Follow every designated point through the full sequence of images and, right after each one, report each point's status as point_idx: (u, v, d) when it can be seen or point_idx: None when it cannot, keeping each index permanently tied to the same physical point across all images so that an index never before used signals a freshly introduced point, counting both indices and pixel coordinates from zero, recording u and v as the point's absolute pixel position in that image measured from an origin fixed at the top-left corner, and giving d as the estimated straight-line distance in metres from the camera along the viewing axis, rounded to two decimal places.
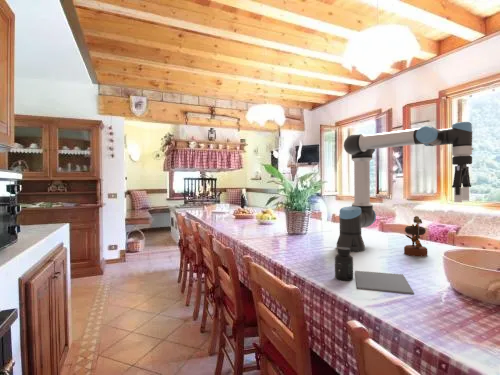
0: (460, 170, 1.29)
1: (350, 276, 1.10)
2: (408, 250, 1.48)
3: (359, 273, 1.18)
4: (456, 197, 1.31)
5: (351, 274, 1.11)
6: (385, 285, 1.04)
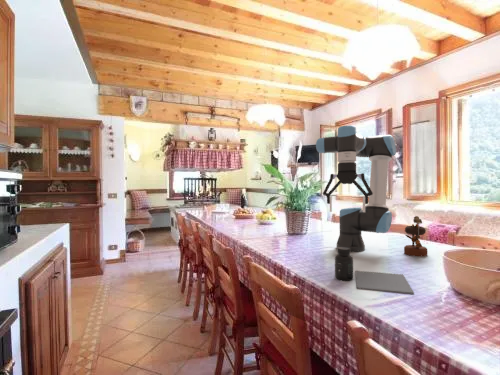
0: (330, 178, 1.25)
1: (350, 276, 1.10)
2: (408, 250, 1.48)
3: (359, 273, 1.18)
4: None
5: (351, 274, 1.11)
6: (385, 285, 1.04)
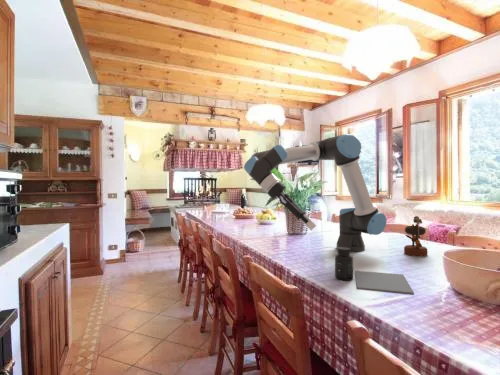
0: None
1: (350, 276, 1.10)
2: (408, 250, 1.48)
3: (359, 273, 1.18)
4: None
5: (351, 274, 1.11)
6: (385, 285, 1.04)
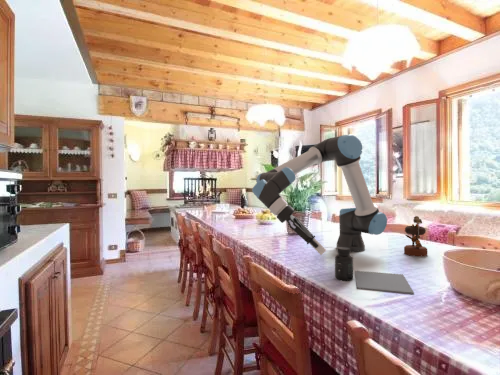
0: None
1: (350, 276, 1.10)
2: (408, 250, 1.48)
3: (359, 273, 1.18)
4: None
5: (351, 274, 1.11)
6: (385, 285, 1.04)
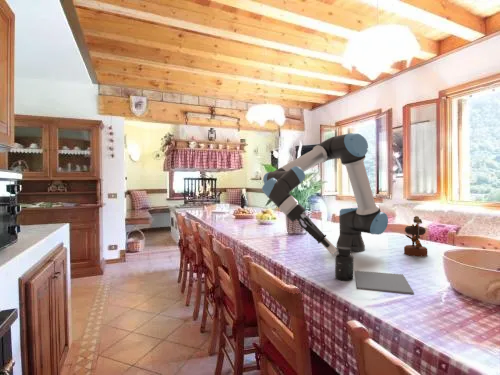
0: None
1: (350, 276, 1.10)
2: (408, 250, 1.48)
3: (359, 273, 1.18)
4: None
5: (351, 274, 1.11)
6: (385, 285, 1.04)
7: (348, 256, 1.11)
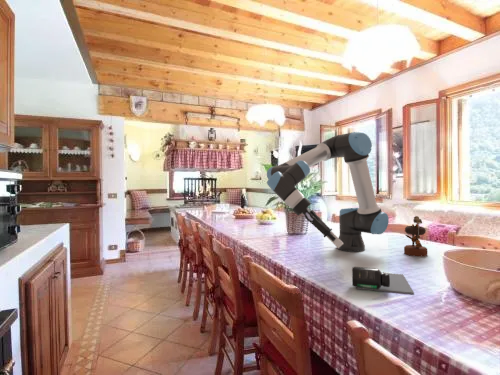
0: None
1: None
2: (408, 250, 1.48)
3: None
4: None
5: None
6: None
7: None
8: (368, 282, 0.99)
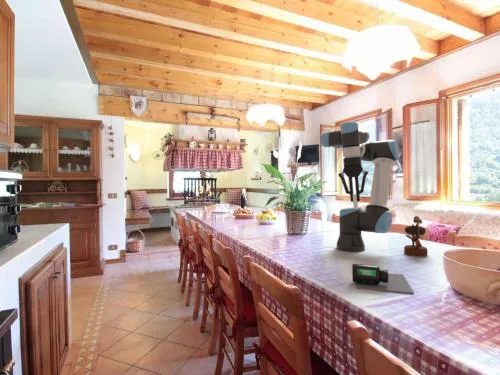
0: (341, 178, 1.32)
1: None
2: (408, 250, 1.48)
3: None
4: None
5: None
6: (385, 285, 1.04)
7: None
8: (367, 267, 1.05)
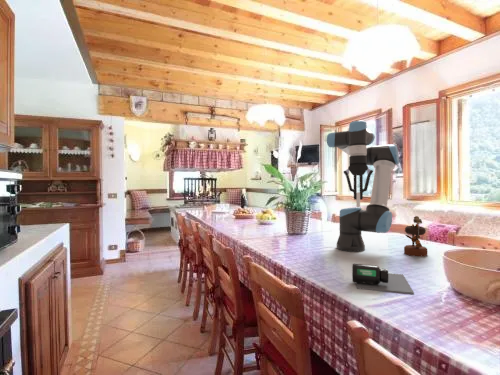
0: None
1: None
2: (408, 250, 1.48)
3: None
4: (356, 201, 1.34)
5: None
6: (385, 285, 1.04)
7: None
8: (367, 267, 1.05)
